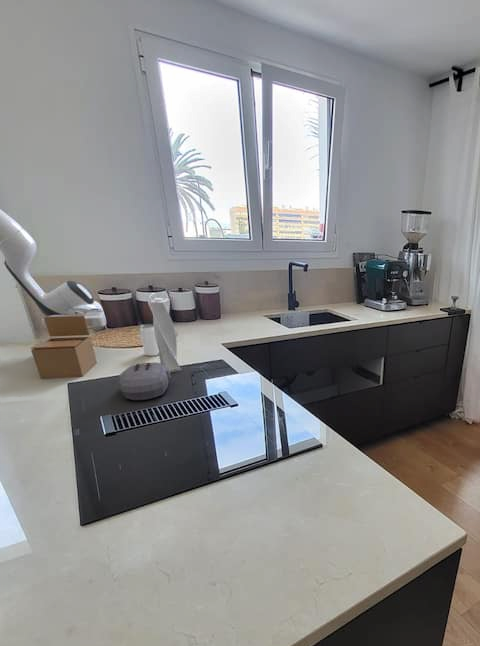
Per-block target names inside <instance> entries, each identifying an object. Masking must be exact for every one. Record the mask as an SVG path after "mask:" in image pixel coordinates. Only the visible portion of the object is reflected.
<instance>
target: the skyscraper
mask: <svg viewBox="0 0 480 646" xmlns="http://www.w3.org/2000/svg"><path fill="white" fill-rule="evenodd" d="M153 295H154V298H153V300H151V301H150V299H151V297H152V296H153ZM147 304H148V307H149V309H150V312H151V314H152V324H153V326H154V334H155V339H156V343H157V347H158V350H159V352H158V353H159V355H158V356H159V361H160V362H159V363H161V364H162V365H164V366H165V367H167V368H168V370H169V372H170V374H173V373H178V372H182V371H183V369H182V368H181V367H180V366H181V365H179V363H178V361H177V357H178V355H177V354H178V346H177V345H178V344H177V334H176V329H175V325H174V323H173V320H172V317H171V315H170V308H171V307H170V306H171V299H170V297H168V298H165V299H164V298H163V297H157V293H156V292H152V293H151V294H150V295H149V296H148V298H147Z"/></svg>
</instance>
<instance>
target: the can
mask: <svg viewBox="0 0 480 646" xmlns="http://www.w3.org/2000/svg"><path fill="white" fill-rule="evenodd" d="M139 333H140V338H141V343H142V348H143V354H144V355H145V356H147V357H156V356H159V353H158V352H159V350H158V347H157V343H156V339H155V334H154V326H153V323H147V324H141V325H140V329H139Z"/></svg>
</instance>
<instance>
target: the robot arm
mask: <svg viewBox="0 0 480 646" xmlns="http://www.w3.org/2000/svg"><path fill="white" fill-rule="evenodd" d="M36 243H37V242H36V241H35V239H34V238H33V237H32V236H31V234H30V233H29V232H28V231H27V230H26V229H25V228H23V227H22V226H21V225H20V224H19V223H18V222H17V221H16V220H15V219H13V218H12V217H11V216H10V215H9V214H7V213H6V212H5V211H3V210H2V209H1V208H0V252H1V253H2V256H3V258H4V261H3V264H4V266H5V268H6V269H7V271H8V272H9V273H10V275H11V276H12V277H13V278H14V279H15V281H16V282H17V283H18V284H19V285H20V287H21V288H22V289H23V290H24V291H25V293H26V294H27V295H28V296H29V297H30V298H31V300H32V301H33V302H34V304H35V305H36V307H37V308H38V309H39V311H40V312H41V313H42V314H43V315H44V317H55V316H84V317H85V320H86V324H87V327H88V329H90V328H94V327H105V326H106V325H107V318H106V315H105V312H104V308H103V306H102V305H101V304H100V303H99V302H98V301H96V300H94V296H93V294H92V293H91V291H90V290H89V289H88V288H87V287H86V286H85V285H84V284H81V283H79V282H76V281H73V280H67V281H65V282H64V283H62V284H60V285H59V286H57V287H55V288H54V289H53V290H51V291H50V292H48V293H47V292H45V291H44V290H43V289H42V288H41V287H40V286H39V284H38V283H37V282H36V280H35V279H34V278H33V276H32V275H31V274H30V272H29V269H30V265H31V263H32V261H33V260H34V258H35V256H36V254H37V244H36ZM44 317H42V318H41V323H42V327H44V328H45V329H47V326H46V323H45V320H44Z"/></svg>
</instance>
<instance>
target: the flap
mask: <svg viewBox="0 0 480 646" xmlns="http://www.w3.org/2000/svg"><path fill="white" fill-rule="evenodd" d="M43 318H44V320H45V323H46V326H47V328H46V329H47V332H48V334H49V335H48V336H49V337H51V338H52V337H80V336H90V330H89V328H88V327H87V324H86V320H85V317H84V316H55V317H47V316H43Z"/></svg>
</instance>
